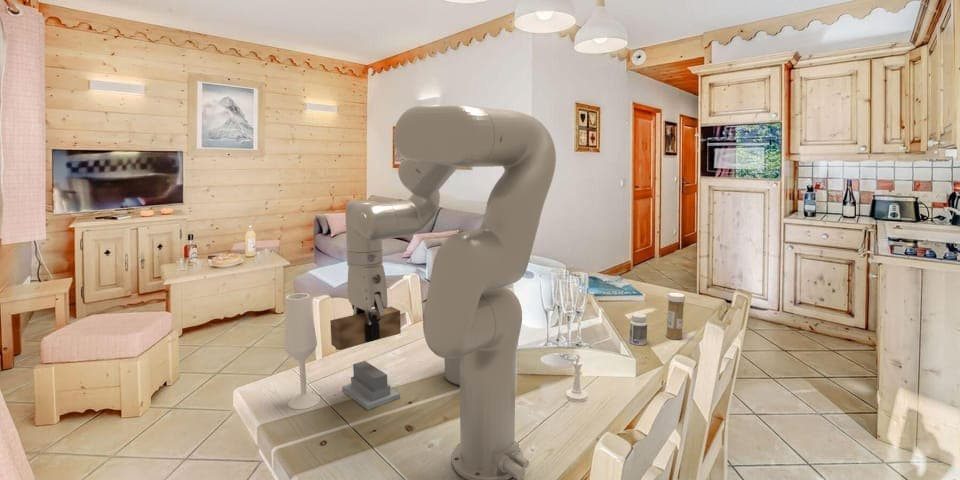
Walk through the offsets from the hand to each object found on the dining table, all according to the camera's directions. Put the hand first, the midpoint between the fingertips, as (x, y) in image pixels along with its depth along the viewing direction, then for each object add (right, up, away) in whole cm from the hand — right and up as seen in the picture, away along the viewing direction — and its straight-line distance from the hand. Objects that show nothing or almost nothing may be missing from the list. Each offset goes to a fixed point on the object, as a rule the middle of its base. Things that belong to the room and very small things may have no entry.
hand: (367, 336), depth 107 cm
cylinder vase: (+23, -12, +11) cm, 28 cm away
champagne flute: (-14, -14, -1) cm, 20 cm away
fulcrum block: (0, -13, +2) cm, 14 cm away
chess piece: (+47, -14, +1) cm, 49 cm away
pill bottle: (+71, -9, +33) cm, 79 cm away
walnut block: (0, -1, 0) cm, 0 cm away
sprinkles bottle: (+84, -8, +37) cm, 92 cm away
